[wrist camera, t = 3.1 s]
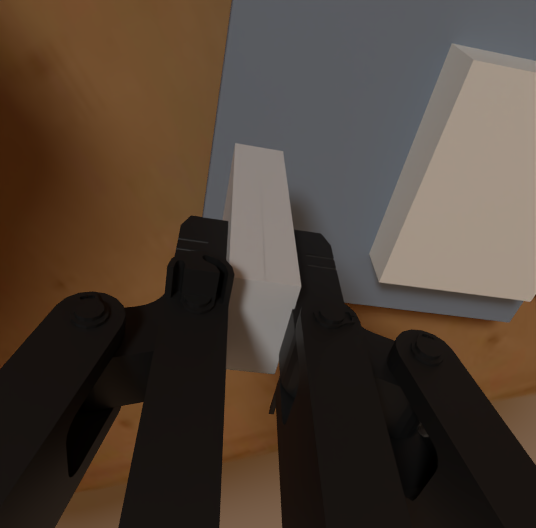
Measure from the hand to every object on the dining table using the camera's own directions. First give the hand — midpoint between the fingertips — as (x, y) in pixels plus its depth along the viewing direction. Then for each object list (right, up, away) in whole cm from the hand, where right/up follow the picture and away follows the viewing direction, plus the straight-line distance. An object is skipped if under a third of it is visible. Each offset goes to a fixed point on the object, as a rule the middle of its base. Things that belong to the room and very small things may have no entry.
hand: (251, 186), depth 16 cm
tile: (+9, 0, +3) cm, 10 cm away
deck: (+6, +3, +6) cm, 9 cm away
